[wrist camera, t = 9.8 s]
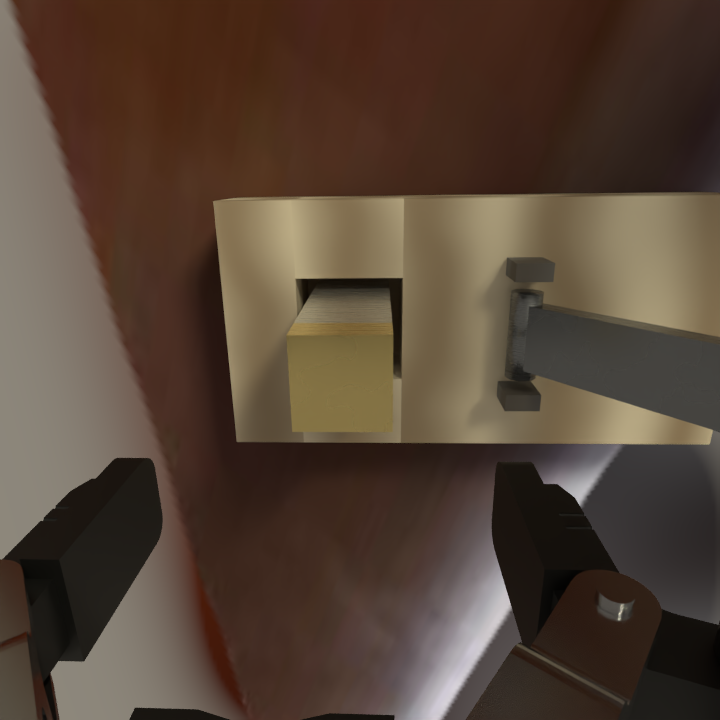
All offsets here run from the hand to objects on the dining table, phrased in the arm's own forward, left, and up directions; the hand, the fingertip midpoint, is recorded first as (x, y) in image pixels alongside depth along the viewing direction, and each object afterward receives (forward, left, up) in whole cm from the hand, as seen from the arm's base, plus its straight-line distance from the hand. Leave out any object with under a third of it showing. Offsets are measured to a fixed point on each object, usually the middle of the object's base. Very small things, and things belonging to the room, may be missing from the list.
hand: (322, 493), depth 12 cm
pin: (0, 0, -18) cm, 18 cm away
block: (-6, 0, -19) cm, 20 cm away
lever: (-11, 0, -10) cm, 15 cm away
